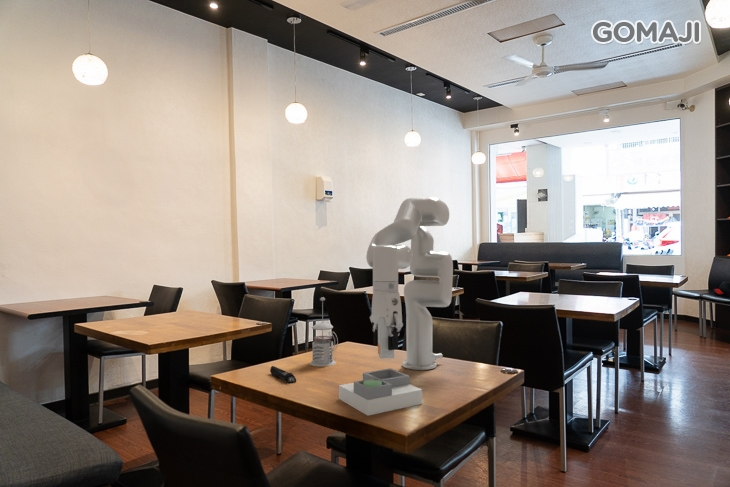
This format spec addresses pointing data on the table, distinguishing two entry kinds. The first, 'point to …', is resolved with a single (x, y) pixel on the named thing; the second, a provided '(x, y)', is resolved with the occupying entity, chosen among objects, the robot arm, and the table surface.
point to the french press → (323, 345)
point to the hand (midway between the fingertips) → (385, 346)
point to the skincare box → (384, 340)
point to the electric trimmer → (283, 375)
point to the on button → (372, 383)
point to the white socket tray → (381, 392)
